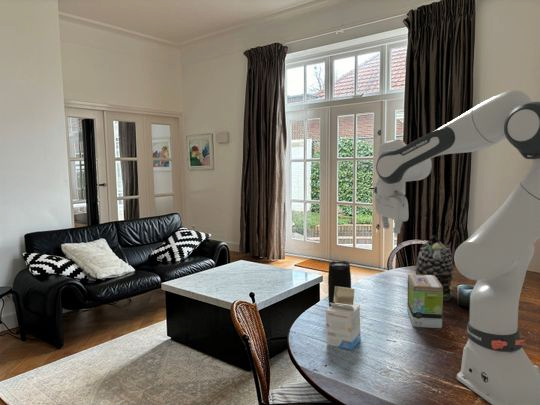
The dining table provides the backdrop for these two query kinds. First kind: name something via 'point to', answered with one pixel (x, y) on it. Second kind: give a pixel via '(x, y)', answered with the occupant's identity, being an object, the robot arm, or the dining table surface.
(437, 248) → the pine cone
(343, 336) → the ink box
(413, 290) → the tea box
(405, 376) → the dining table surface
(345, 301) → the oak cube
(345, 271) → the portable speaker
